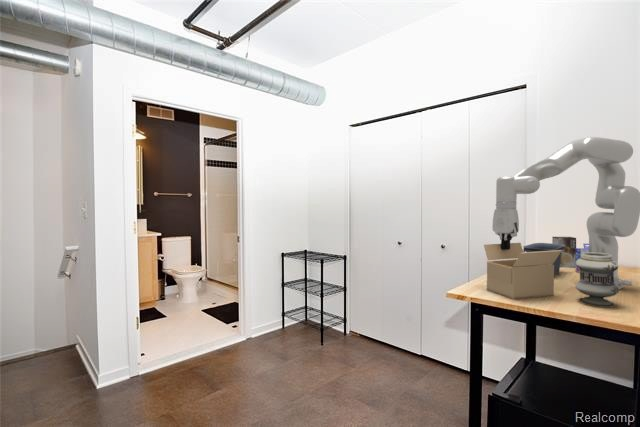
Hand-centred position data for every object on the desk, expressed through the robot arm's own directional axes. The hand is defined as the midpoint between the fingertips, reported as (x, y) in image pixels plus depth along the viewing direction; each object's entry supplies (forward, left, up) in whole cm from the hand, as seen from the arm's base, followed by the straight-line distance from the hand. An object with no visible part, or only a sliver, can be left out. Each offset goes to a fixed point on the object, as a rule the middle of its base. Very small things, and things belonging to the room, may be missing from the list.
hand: (505, 249), depth 143 cm
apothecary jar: (-30, +1, -17) cm, 35 cm away
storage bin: (-5, -40, -17) cm, 44 cm away
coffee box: (-9, -68, -17) cm, 71 cm away
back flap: (0, 0, -1) cm, 1 cm away
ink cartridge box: (-21, -57, -17) cm, 64 cm away
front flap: (-13, +8, -1) cm, 16 cm away
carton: (-6, +4, -17) cm, 18 cm away
